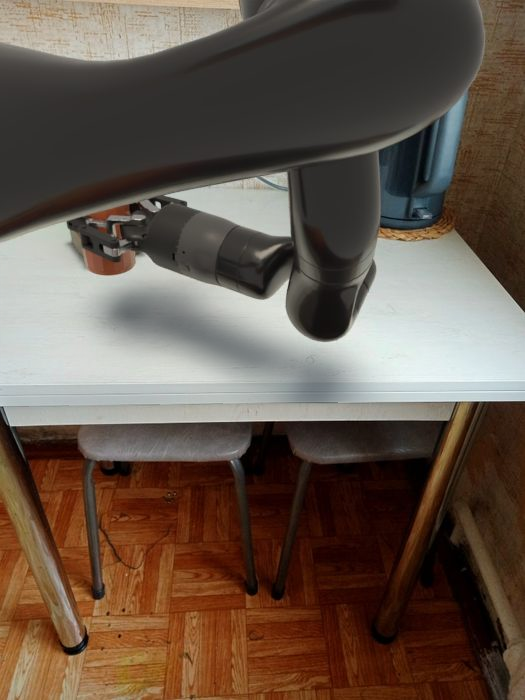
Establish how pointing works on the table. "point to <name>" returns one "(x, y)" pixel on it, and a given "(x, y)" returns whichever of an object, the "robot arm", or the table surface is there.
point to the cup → (101, 264)
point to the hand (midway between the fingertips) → (89, 208)
